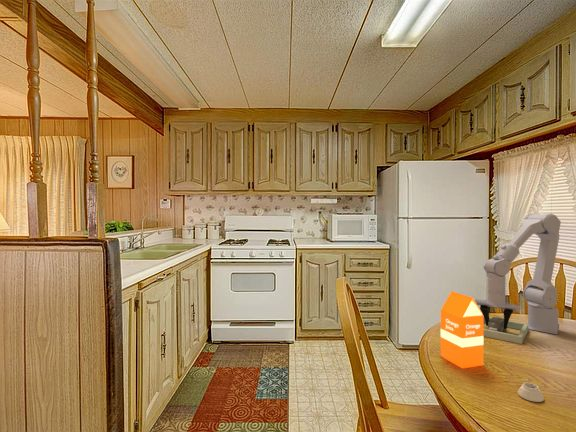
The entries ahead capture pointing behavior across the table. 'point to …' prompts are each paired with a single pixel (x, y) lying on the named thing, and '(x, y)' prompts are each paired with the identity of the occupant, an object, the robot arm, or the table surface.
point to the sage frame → (506, 336)
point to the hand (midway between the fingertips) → (496, 327)
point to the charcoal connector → (496, 324)
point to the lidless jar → (530, 392)
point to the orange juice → (462, 331)
